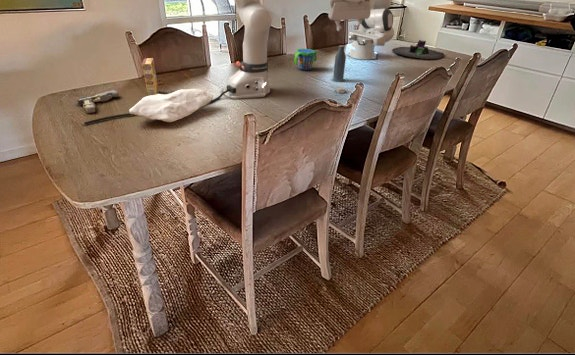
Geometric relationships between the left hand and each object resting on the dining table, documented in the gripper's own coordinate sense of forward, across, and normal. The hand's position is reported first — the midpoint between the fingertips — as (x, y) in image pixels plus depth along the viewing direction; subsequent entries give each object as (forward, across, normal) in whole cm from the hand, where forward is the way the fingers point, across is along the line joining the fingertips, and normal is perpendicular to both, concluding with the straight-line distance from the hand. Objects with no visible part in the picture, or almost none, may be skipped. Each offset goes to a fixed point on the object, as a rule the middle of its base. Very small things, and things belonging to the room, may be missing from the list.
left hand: (347, 30), depth 165 cm
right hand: (+9, +20, +20) cm, 29 cm away
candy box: (+29, -85, +26) cm, 94 cm away
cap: (+27, 0, 0) cm, 27 cm away
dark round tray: (+29, +94, +48) cm, 110 cm away
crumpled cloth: (+29, -82, +1) cm, 86 cm away
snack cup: (+29, +1, +40) cm, 49 cm away
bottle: (+29, +9, +16) cm, 34 cm away
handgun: (+29, -107, +22) cm, 113 cm away
